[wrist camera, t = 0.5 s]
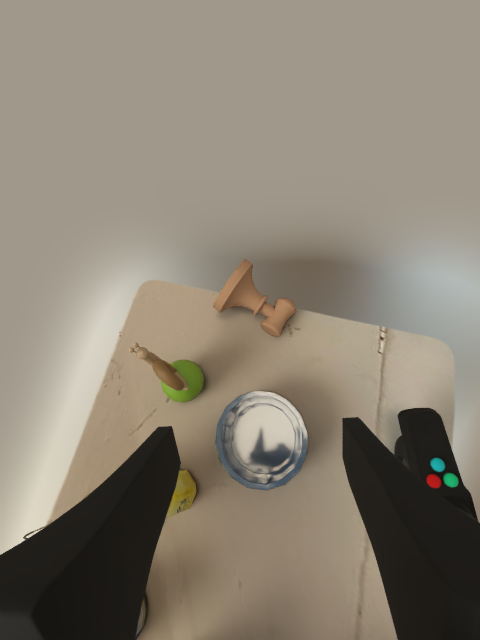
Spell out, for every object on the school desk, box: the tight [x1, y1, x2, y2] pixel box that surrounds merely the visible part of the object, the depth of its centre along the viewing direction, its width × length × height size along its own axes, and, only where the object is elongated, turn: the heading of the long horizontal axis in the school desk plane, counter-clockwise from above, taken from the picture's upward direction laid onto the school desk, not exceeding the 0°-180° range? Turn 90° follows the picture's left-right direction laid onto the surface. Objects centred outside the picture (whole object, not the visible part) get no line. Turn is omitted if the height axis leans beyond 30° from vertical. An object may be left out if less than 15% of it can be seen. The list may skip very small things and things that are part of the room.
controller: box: [395, 408, 478, 522], centre depth 30 cm, size 4×12×10 cm, turn 4°
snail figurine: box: [129, 343, 204, 402], centre depth 36 cm, size 5×6×12 cm
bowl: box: [216, 391, 308, 490], centre depth 36 cm, size 10×10×5 cm
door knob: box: [213, 259, 296, 337], centre depth 42 cm, size 8×10×8 cm
